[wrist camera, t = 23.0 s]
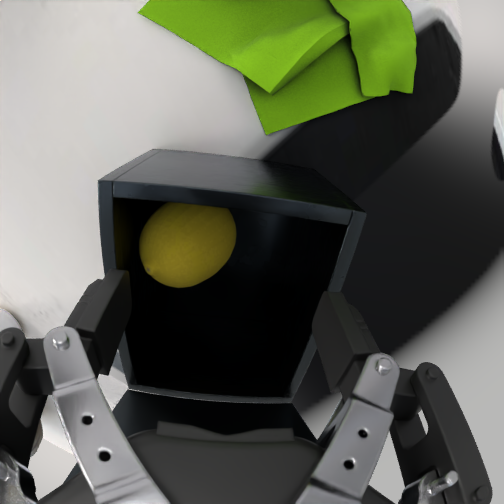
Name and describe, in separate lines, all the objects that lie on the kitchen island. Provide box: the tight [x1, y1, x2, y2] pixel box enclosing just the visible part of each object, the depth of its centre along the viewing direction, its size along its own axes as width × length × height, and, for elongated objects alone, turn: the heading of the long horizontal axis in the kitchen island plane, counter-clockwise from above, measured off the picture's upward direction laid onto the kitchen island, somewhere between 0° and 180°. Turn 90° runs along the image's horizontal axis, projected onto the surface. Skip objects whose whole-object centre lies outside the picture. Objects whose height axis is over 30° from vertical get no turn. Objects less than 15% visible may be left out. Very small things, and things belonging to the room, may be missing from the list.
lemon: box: [139, 202, 236, 288], centre depth 18 cm, size 6×6×8 cm
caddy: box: [98, 149, 367, 403], centre depth 20 cm, size 16×13×10 cm
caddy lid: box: [63, 390, 317, 484], centre depth 10 cm, size 16×13×5 cm
